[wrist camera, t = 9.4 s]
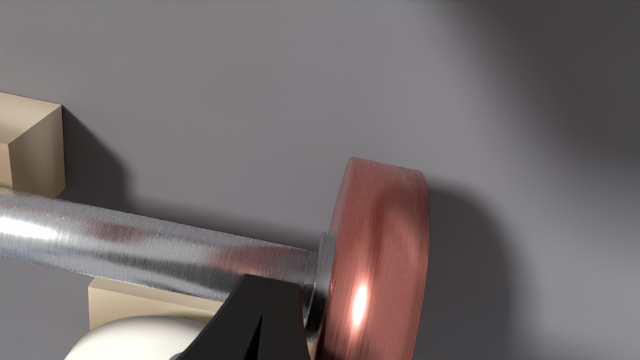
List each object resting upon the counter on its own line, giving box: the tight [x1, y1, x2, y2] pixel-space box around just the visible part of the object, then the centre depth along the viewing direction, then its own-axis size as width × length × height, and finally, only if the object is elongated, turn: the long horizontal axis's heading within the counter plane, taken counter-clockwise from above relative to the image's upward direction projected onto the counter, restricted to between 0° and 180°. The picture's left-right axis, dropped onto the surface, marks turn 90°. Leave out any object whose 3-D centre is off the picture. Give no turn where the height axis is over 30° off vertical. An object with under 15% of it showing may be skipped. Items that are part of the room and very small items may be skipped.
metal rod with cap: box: [0, 157, 430, 360], centre depth 13 cm, size 6×15×6 cm, turn 79°
